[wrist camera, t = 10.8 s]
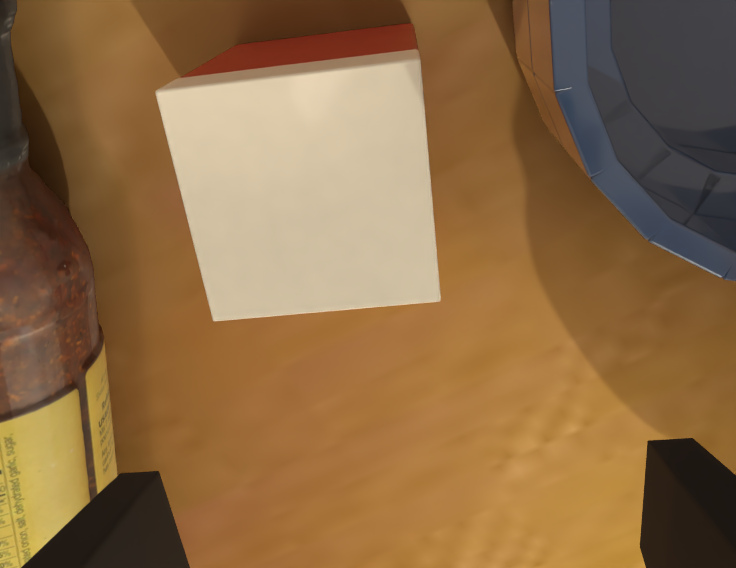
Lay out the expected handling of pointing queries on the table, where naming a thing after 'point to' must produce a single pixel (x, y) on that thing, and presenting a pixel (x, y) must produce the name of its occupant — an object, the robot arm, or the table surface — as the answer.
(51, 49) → the table surface
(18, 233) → the sauce bottle
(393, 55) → the red block
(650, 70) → the bowl
